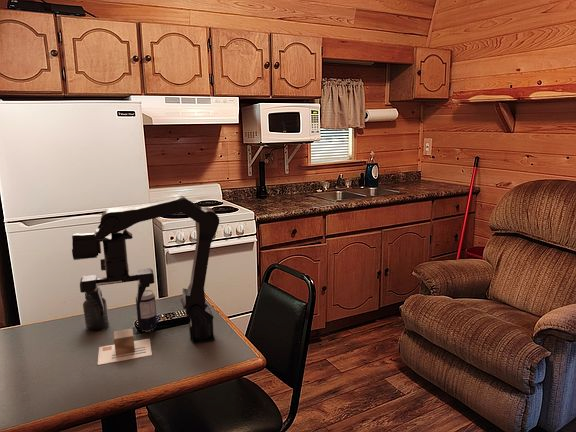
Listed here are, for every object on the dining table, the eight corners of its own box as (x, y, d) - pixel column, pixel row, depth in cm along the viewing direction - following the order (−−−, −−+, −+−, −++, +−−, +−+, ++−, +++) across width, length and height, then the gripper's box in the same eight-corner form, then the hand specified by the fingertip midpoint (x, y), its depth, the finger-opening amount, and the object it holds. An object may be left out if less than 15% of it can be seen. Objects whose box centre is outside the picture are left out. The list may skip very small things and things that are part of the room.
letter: (149, 338, 134) (149, 338, 134) (151, 355, 124) (151, 354, 124) (99, 347, 129) (99, 346, 129) (97, 365, 120) (97, 364, 120)
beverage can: (160, 325, 142) (157, 290, 140) (152, 333, 137) (149, 297, 134) (144, 323, 143) (141, 289, 141) (135, 332, 138) (131, 296, 135)
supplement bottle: (101, 320, 146) (97, 286, 143) (113, 325, 142) (109, 290, 139) (81, 328, 141) (77, 292, 138) (93, 334, 137) (89, 297, 134)
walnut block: (134, 344, 130) (132, 328, 129) (134, 352, 126) (133, 335, 125) (115, 347, 129) (114, 331, 128) (115, 355, 124) (114, 339, 123)
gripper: (149, 243, 131) (153, 293, 134) (80, 250, 124) (86, 302, 128) (152, 254, 121) (156, 308, 124) (76, 262, 114) (83, 319, 118)
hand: (120, 308), depth 124 cm, fingers open, 9 cm apart
